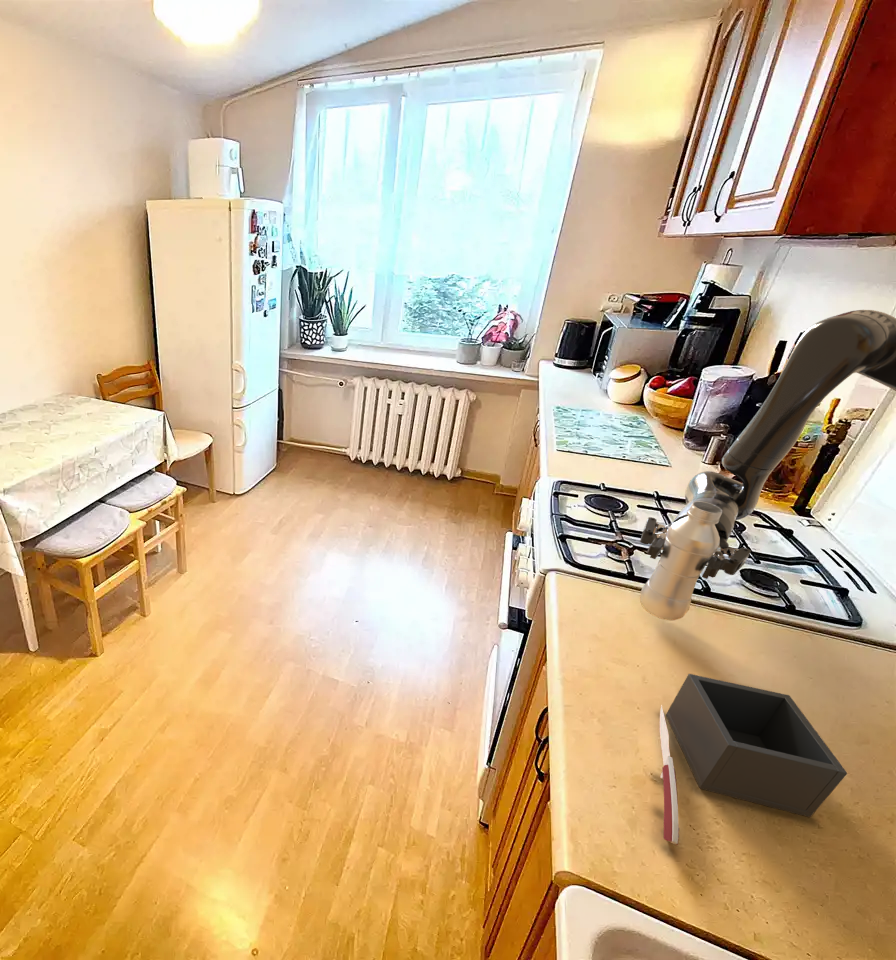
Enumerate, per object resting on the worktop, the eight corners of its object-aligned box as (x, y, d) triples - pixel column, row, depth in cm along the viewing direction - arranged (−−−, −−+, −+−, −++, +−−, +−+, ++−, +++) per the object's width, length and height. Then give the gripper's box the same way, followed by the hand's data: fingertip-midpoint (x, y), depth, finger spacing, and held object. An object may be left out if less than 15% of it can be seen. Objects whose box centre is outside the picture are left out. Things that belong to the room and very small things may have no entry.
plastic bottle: (645, 622, 84) (693, 515, 75) (629, 595, 90) (672, 494, 81) (690, 629, 82) (745, 521, 73) (671, 601, 88) (720, 499, 79)
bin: (759, 737, 67) (789, 694, 63) (810, 817, 58) (848, 773, 54) (665, 715, 70) (688, 673, 66) (699, 788, 61) (728, 744, 57)
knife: (676, 856, 54) (687, 839, 53) (661, 849, 55) (672, 832, 53) (661, 715, 70) (669, 700, 68) (650, 711, 70) (658, 695, 69)
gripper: (661, 491, 93) (634, 523, 83) (767, 522, 83) (751, 563, 73) (646, 526, 96) (619, 562, 86) (747, 560, 87) (729, 605, 77)
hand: (680, 562), depth 80 cm, fingers closed on plastic bottle, 6 cm apart
